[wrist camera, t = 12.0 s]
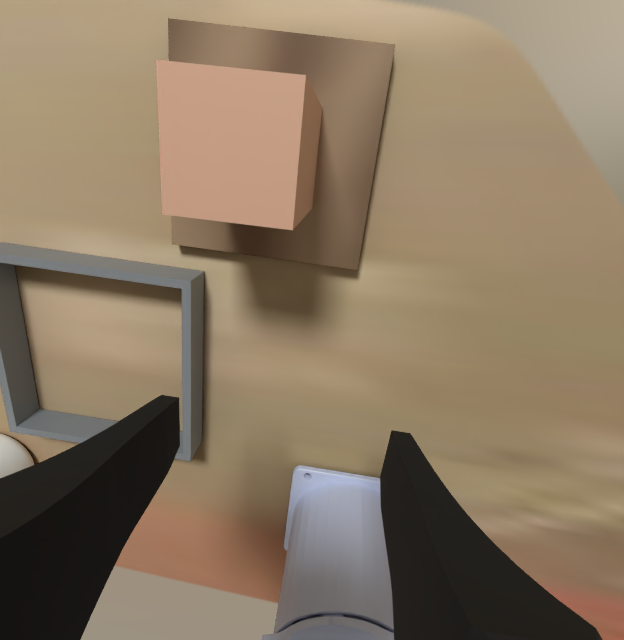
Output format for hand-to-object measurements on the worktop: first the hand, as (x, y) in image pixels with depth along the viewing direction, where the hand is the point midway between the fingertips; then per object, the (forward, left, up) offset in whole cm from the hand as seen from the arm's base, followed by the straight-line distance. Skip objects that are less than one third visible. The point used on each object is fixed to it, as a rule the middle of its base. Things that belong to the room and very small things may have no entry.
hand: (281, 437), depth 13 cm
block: (+3, -9, -10) cm, 13 cm away
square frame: (+12, +4, -10) cm, 17 cm away
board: (+3, -9, -10) cm, 14 cm away
